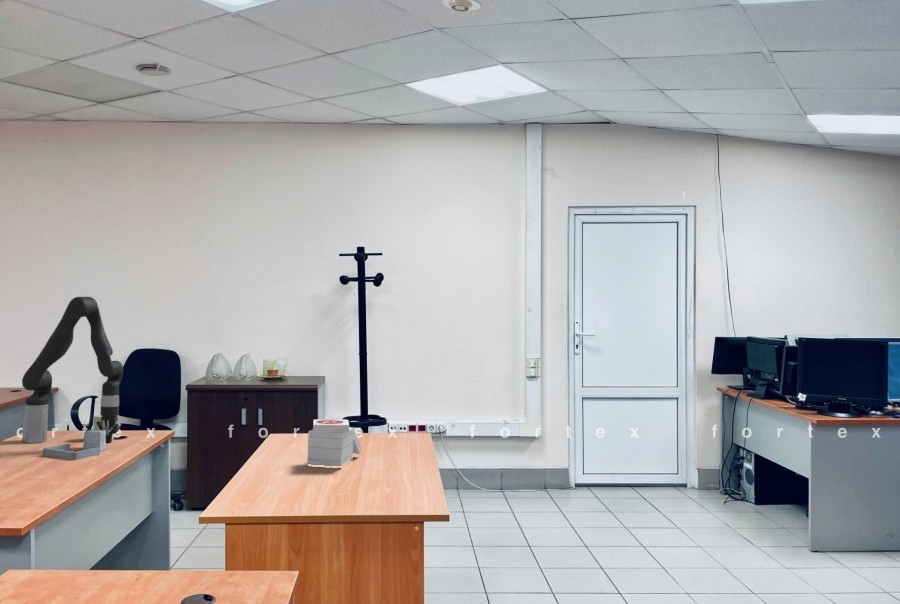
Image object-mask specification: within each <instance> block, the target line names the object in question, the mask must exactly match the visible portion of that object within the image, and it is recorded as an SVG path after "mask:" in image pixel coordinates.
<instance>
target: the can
mask: <svg viewBox="0 0 900 604" xmlns="http://www.w3.org/2000/svg"><path fill="white" fill-rule="evenodd" d="M101 417H102V416H101V415H100V413H99V414H94V415H93V422H92V423H93V426H92V427H93V429H92V430H100V429H99V427H98V425H97V422H99V421H100V420H101ZM106 428H107V427H106ZM110 432H111V430H110ZM113 440H114V434H113V435H112V441H113Z"/></svg>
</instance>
